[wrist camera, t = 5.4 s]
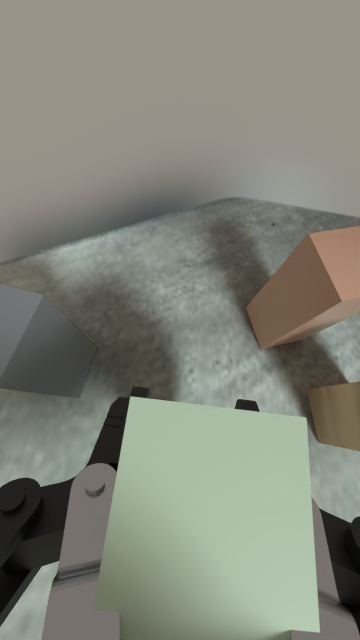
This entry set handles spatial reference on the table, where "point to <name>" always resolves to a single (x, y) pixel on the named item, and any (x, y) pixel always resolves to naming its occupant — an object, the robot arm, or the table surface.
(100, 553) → the robot arm
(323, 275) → the terracotta block
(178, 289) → the table surface
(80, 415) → the table surface
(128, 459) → the green block
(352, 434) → the oak block
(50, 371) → the charcoal block
